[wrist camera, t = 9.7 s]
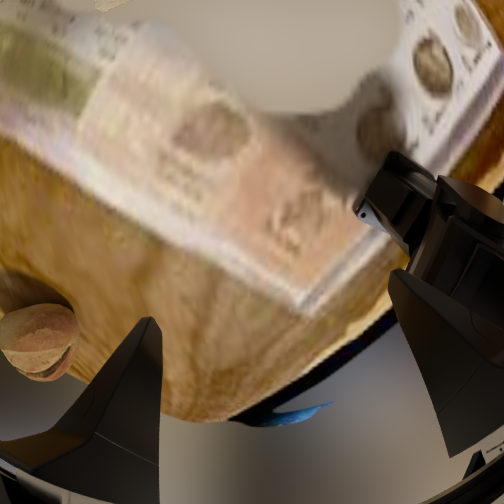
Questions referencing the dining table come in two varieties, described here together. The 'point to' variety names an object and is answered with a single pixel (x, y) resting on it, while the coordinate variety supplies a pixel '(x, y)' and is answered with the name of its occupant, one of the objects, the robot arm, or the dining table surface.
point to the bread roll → (40, 340)
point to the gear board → (108, 4)
